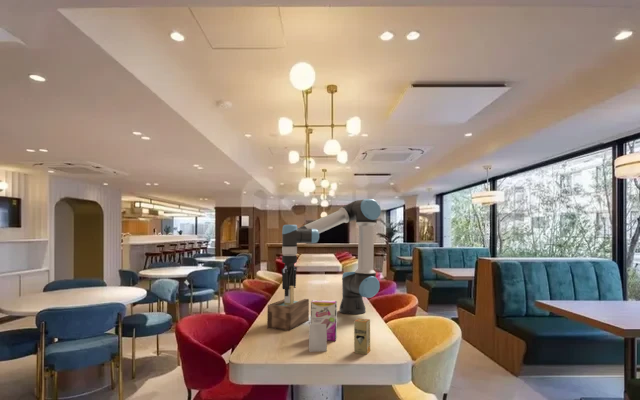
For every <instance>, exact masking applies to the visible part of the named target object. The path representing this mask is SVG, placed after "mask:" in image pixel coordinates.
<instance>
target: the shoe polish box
mask: <svg viewBox="0 0 640 400" xmlns="http://www.w3.org/2000/svg"><path fill="white" fill-rule="evenodd" d="M353 331H354V332H353V336H354V337H353V338H354V339H353V340H354V342H353V343H354V344H353V348H354V349H353V350H354V351H353V352H354V354H361V355H368V354H369V353H370V352H371V319H369V318H368V319H367V318H356V319H355V320H354V321H353Z"/></svg>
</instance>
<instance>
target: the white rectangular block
mask: <svg viewBox="0 0 640 400" xmlns="http://www.w3.org/2000/svg"><path fill="white" fill-rule="evenodd" d="M327 349H328V341H327V329H326V324H311V323H309V324H308V351H309V353H310V352H311V353H312V352H314V353H315V352H327Z"/></svg>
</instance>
